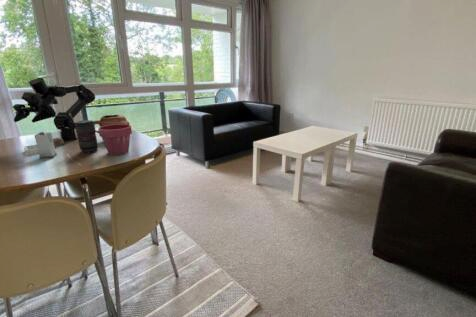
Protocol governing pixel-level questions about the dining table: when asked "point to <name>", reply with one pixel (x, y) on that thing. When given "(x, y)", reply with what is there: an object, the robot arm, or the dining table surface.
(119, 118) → the decorative planter
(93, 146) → the camera lens
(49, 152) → the housing
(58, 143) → the walnut block
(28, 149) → the stand
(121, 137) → the plant pot
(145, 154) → the dining table surface
